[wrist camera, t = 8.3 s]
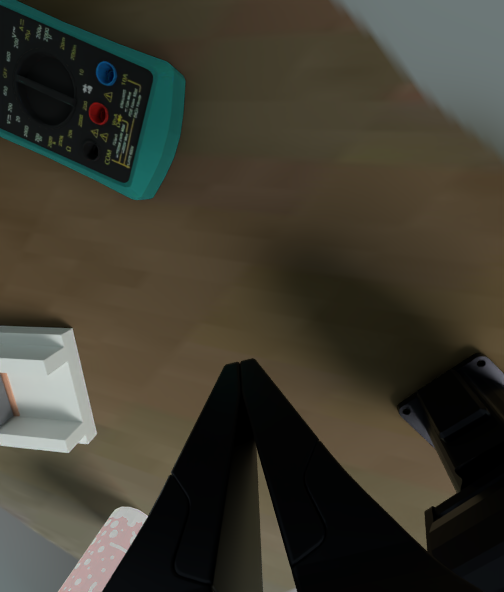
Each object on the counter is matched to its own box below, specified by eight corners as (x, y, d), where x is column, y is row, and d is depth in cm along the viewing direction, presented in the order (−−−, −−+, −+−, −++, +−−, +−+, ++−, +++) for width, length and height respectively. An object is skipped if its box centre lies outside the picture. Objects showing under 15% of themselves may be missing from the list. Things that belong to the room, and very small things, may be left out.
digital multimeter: (164, 204, 21) (142, 207, 18) (-37, 115, 21) (-89, 103, 19) (199, 83, 18) (180, 64, 16) (-30, -17, 19) (-88, -53, 16)
